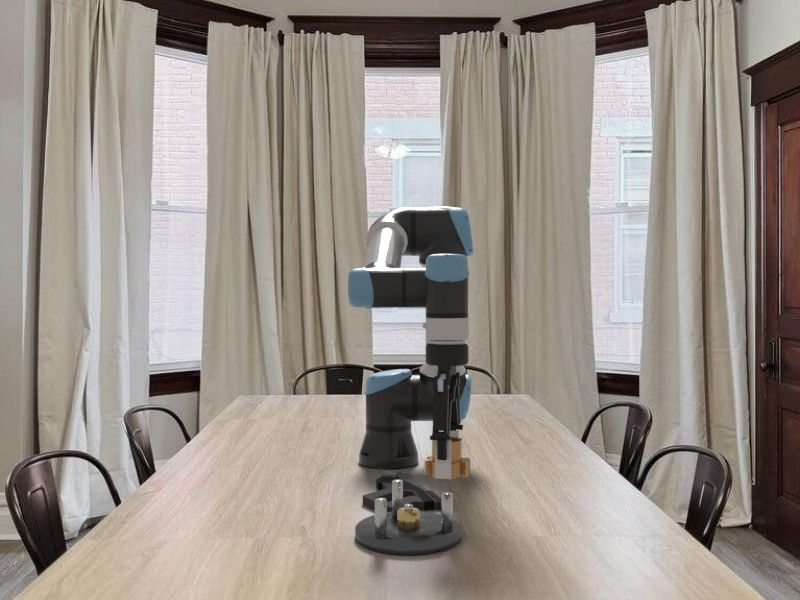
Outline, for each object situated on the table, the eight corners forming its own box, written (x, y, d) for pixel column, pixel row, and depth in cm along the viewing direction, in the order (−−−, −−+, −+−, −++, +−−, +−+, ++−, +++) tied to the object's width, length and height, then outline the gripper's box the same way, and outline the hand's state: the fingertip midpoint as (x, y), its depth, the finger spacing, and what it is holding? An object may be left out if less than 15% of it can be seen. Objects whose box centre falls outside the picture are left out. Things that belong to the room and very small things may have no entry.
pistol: (372, 508, 136) (446, 502, 140) (347, 475, 161) (410, 470, 165) (372, 520, 136) (446, 513, 140) (347, 485, 161) (410, 480, 165)
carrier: (371, 515, 138) (371, 474, 138) (468, 522, 133) (468, 480, 133) (341, 550, 119) (340, 503, 119) (452, 560, 115) (452, 511, 115)
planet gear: (429, 467, 129) (429, 434, 129) (472, 469, 127) (472, 436, 127) (421, 477, 121) (421, 442, 121) (466, 480, 119) (466, 444, 119)
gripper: (436, 338, 135) (436, 458, 135) (413, 345, 115) (413, 486, 115) (475, 339, 133) (476, 460, 133) (459, 346, 113) (459, 488, 113)
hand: (447, 472), depth 124 cm, fingers closed on planet gear, 8 cm apart
